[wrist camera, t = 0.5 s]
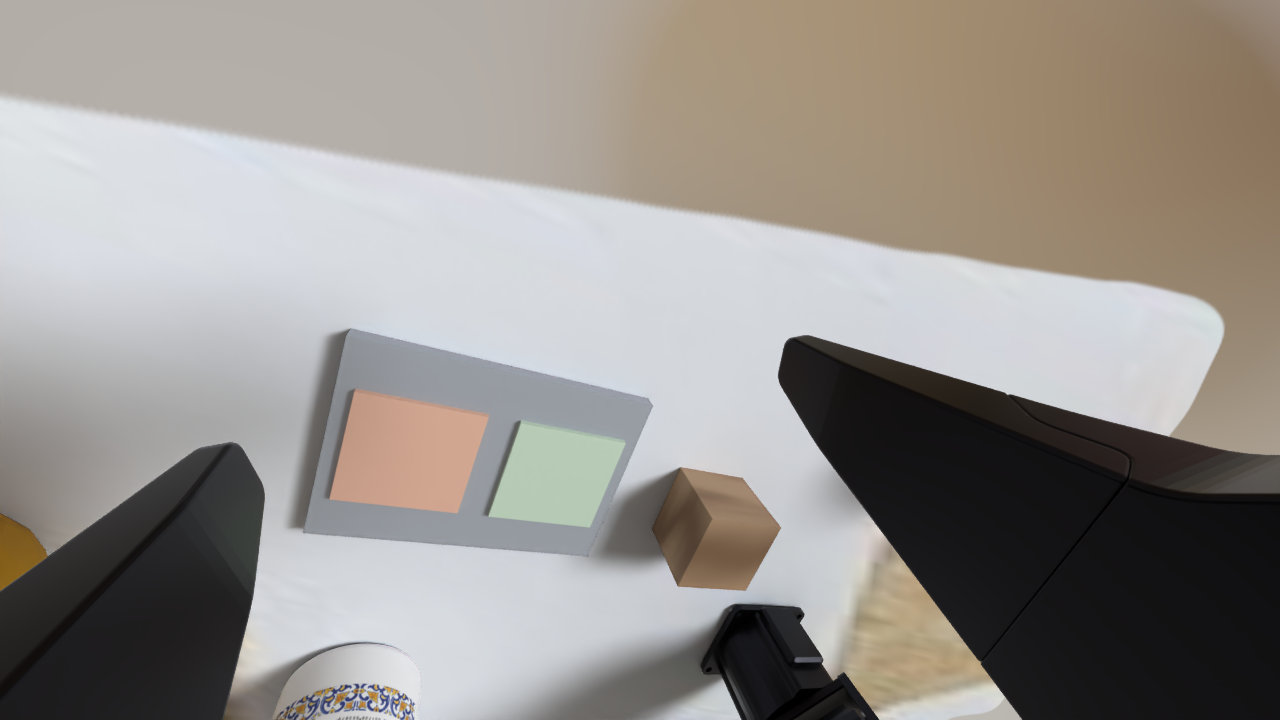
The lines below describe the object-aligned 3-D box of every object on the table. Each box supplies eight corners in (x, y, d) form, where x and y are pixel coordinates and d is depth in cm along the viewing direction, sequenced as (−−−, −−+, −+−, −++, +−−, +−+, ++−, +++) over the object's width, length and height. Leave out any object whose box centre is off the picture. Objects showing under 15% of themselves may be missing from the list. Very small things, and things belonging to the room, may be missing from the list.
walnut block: (712, 534, 31) (745, 590, 27) (651, 527, 30) (677, 586, 26) (741, 477, 30) (781, 527, 26) (680, 466, 28) (712, 518, 24)
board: (585, 546, 28) (588, 560, 27) (308, 521, 23) (301, 537, 22) (648, 398, 26) (654, 408, 25) (350, 328, 20) (344, 337, 19)
